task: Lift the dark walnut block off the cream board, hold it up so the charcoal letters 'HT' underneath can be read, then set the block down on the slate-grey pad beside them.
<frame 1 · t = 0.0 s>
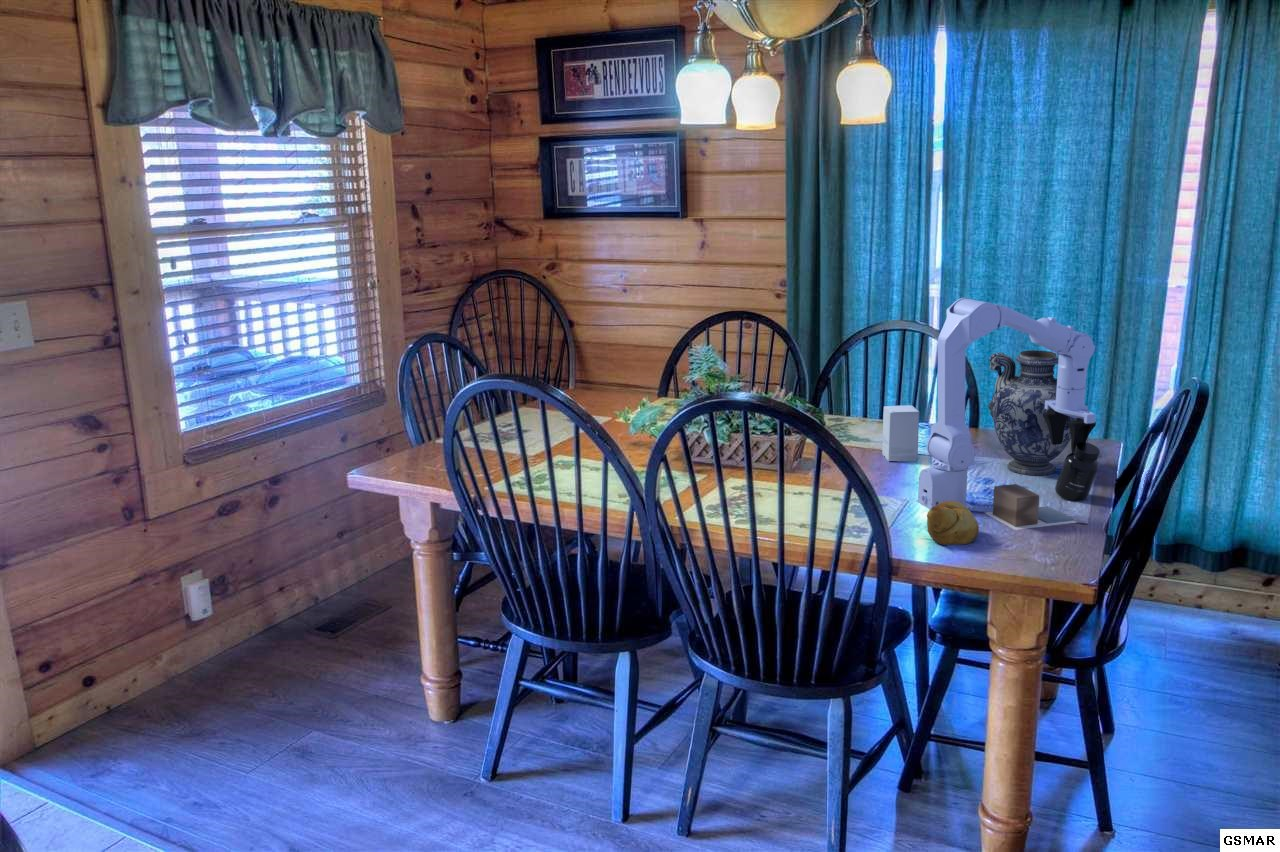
hand: (1066, 448, 223), 10 cm above the table, tool pointing down, fingers open, 6 cm apart
code board: (1029, 520, 210), on the table
bread roll: (951, 539, 202), on the table
walnut block: (1014, 519, 209), point 1 cm above the table, touching code board
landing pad: (1047, 515, 211), on the table
supplement box: (899, 458, 256), on the table
supplement bottle: (1070, 494, 222), point 1 cm above the table, touching gripper
decorative vase: (1030, 469, 244), on the table
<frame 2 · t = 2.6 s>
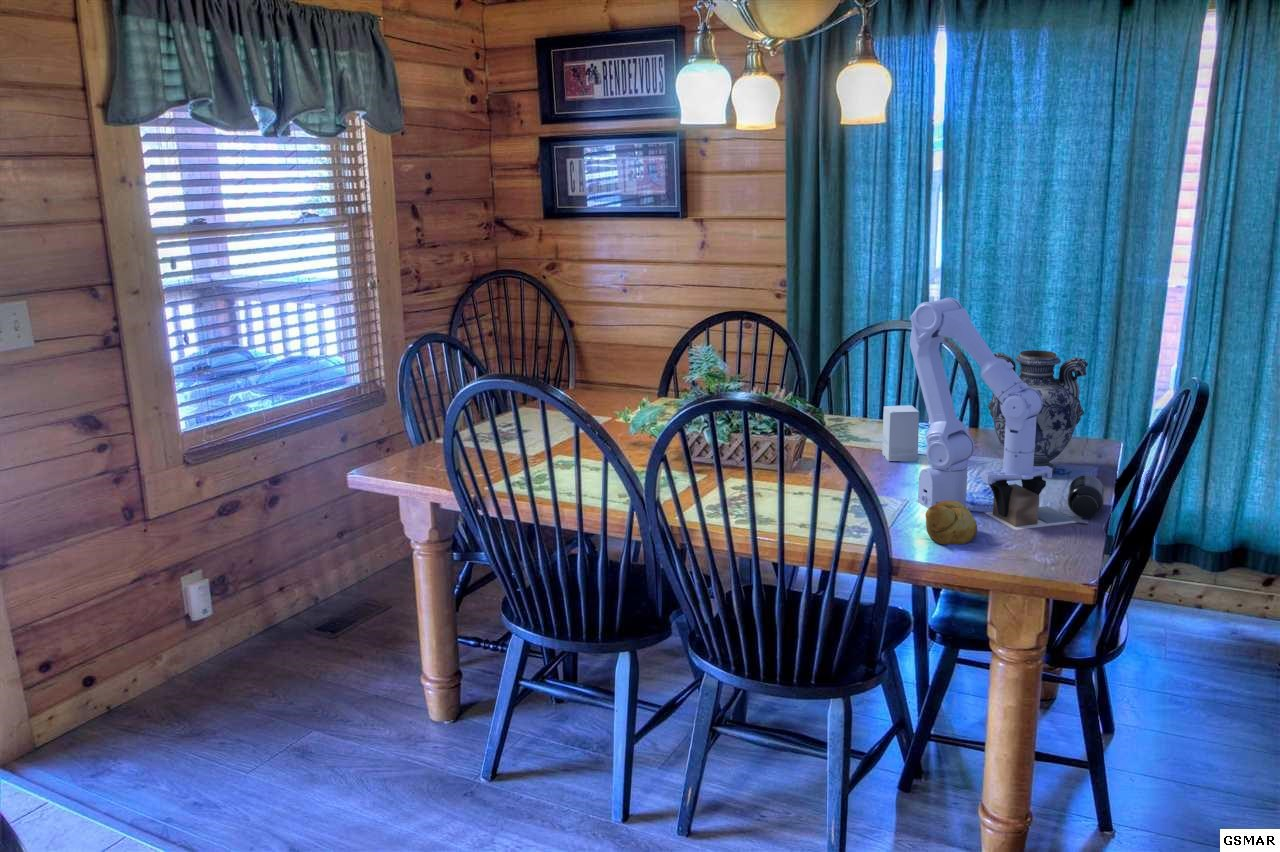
hand: (1015, 514, 209), 2 cm above the table, tool pointing down, fingers closed on walnut block, 5 cm apart
walnut block: (1014, 519, 209), point 1 cm above the table, touching code board, gripper
supplement bottle: (1086, 489, 217), point 3 cm above the table
everything else where it was.
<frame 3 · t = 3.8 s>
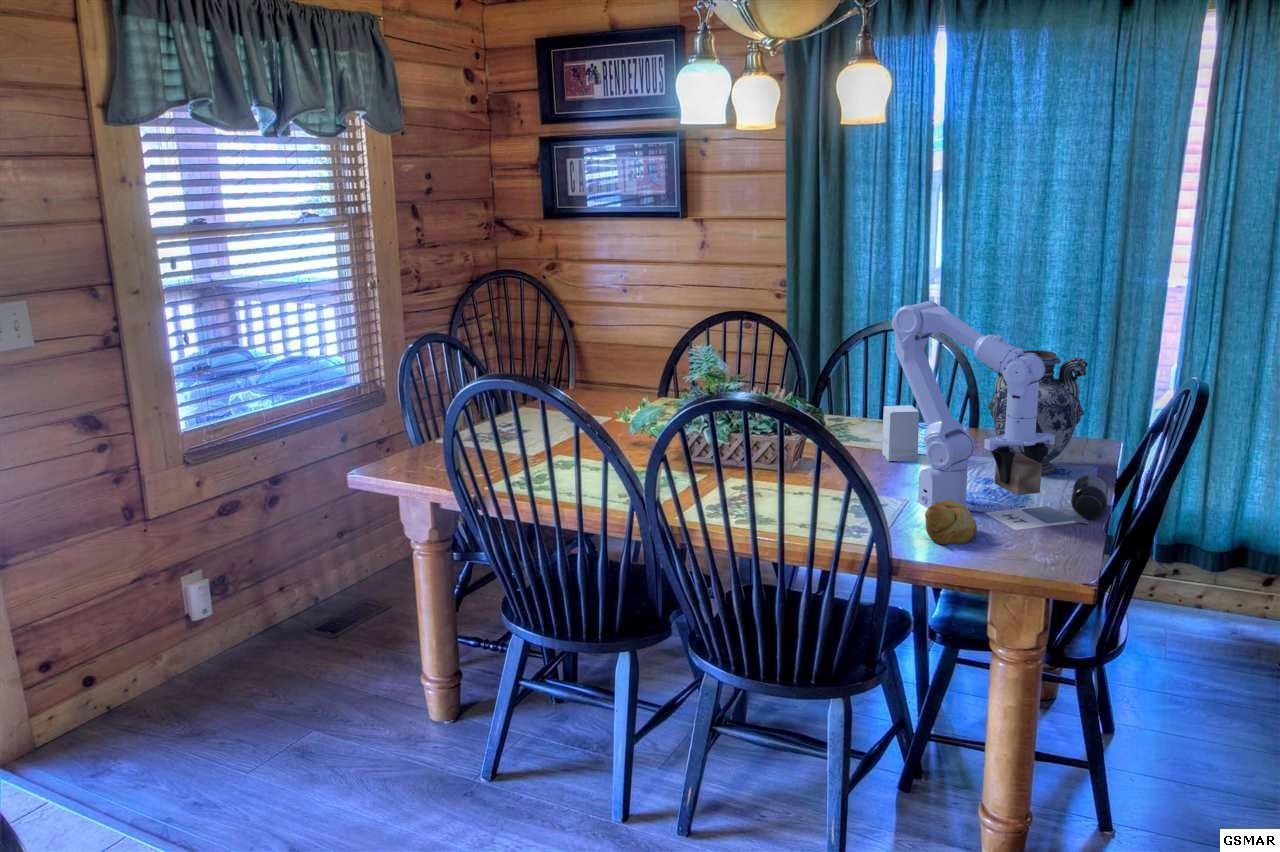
hand: (1016, 481, 207), 9 cm above the table, tool pointing down, fingers closed on walnut block, 5 cm apart
walnut block: (1016, 488, 207), point 7 cm above the table, touching gripper
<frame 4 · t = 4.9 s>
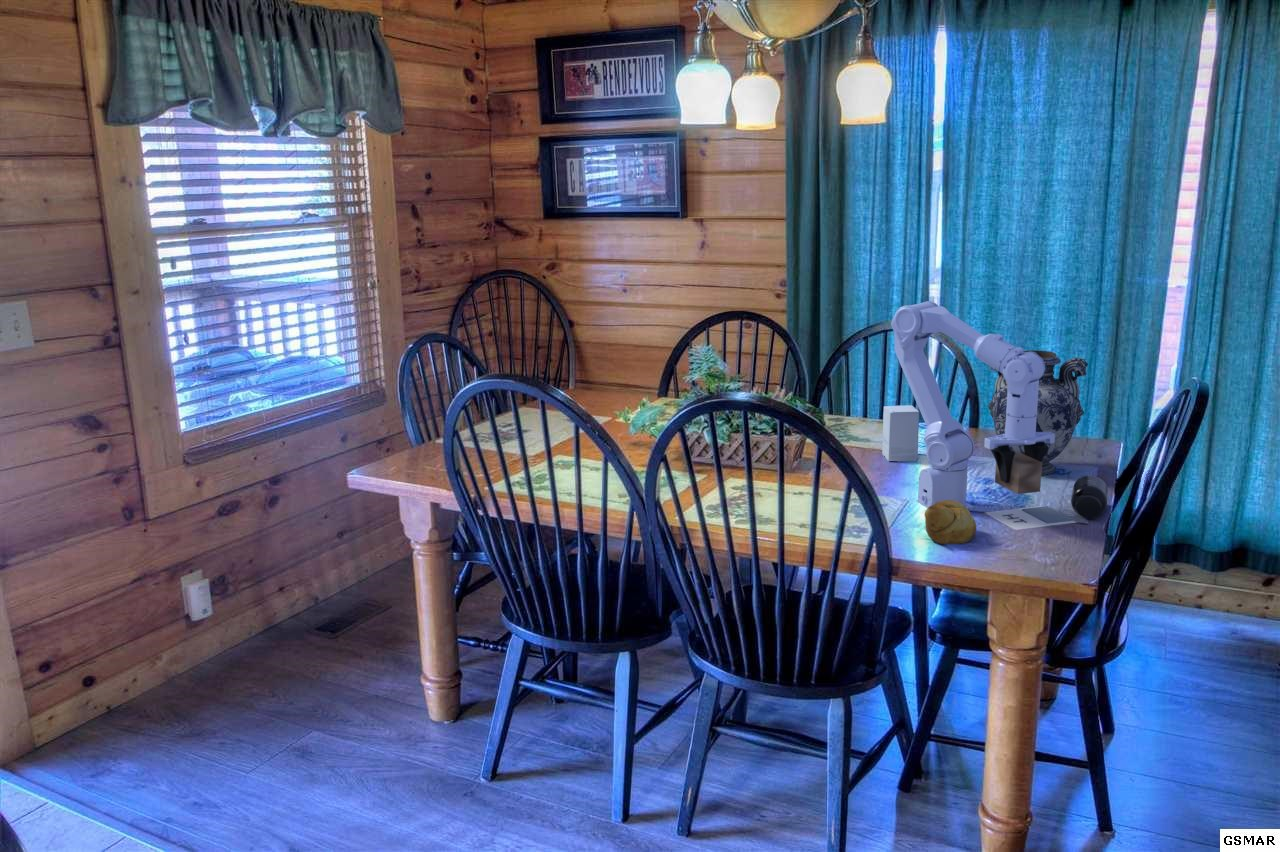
hand: (1017, 480, 207), 9 cm above the table, tool pointing down, fingers closed on walnut block, 5 cm apart
walnut block: (1017, 486, 207), point 8 cm above the table, touching gripper
everything else where it was.
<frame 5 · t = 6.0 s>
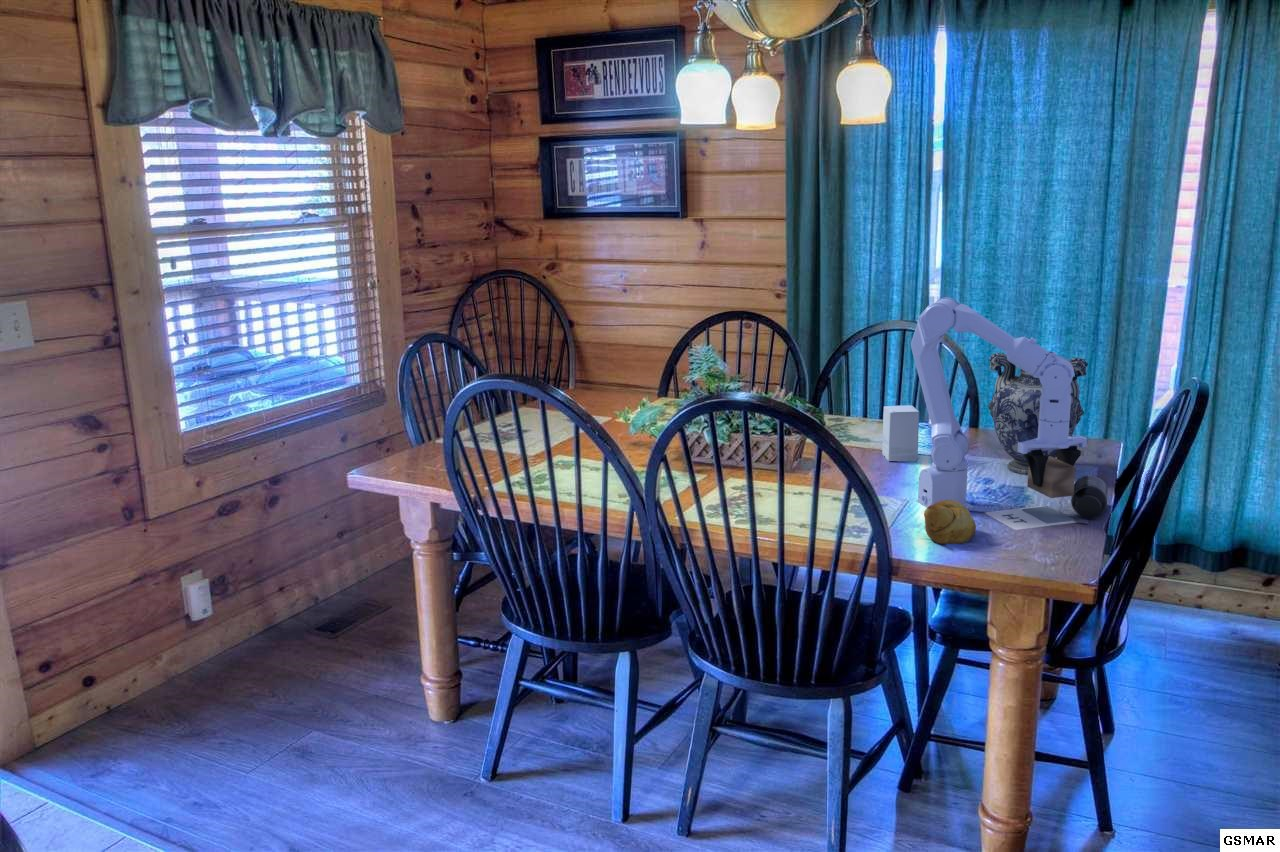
hand: (1049, 484, 209), 7 cm above the table, tool pointing down, fingers closed on walnut block, 5 cm apart
walnut block: (1049, 491, 209), point 6 cm above the table, touching gripper
everything else where it was.
when the fingers open (3 cm above the table, at t = 7.2 s): walnut block stays where it is, resting on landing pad.
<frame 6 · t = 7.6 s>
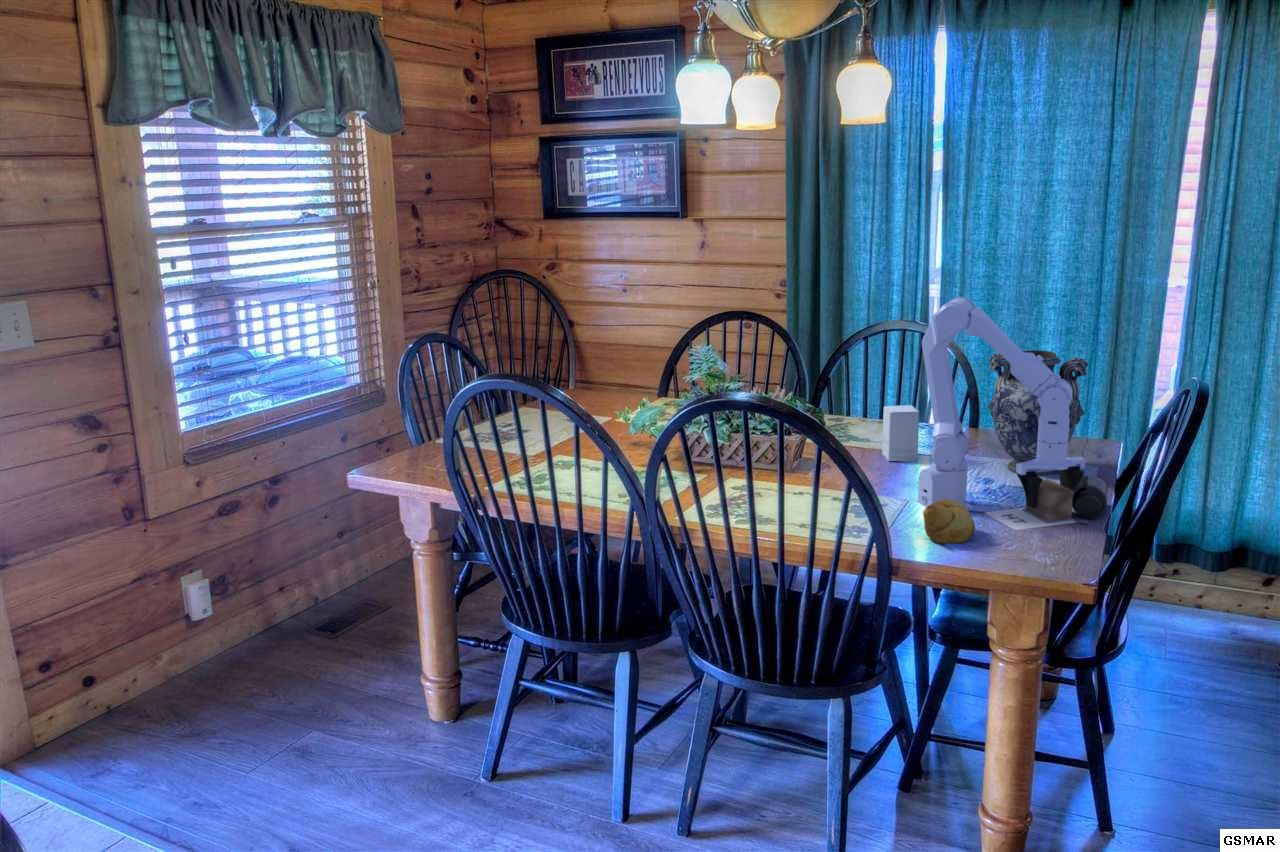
hand: (1048, 504, 210), 3 cm above the table, tool pointing down, fingers open, 7 cm apart
walnut block: (1047, 514, 210), point 1 cm above the table, touching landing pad
everything else where it was.
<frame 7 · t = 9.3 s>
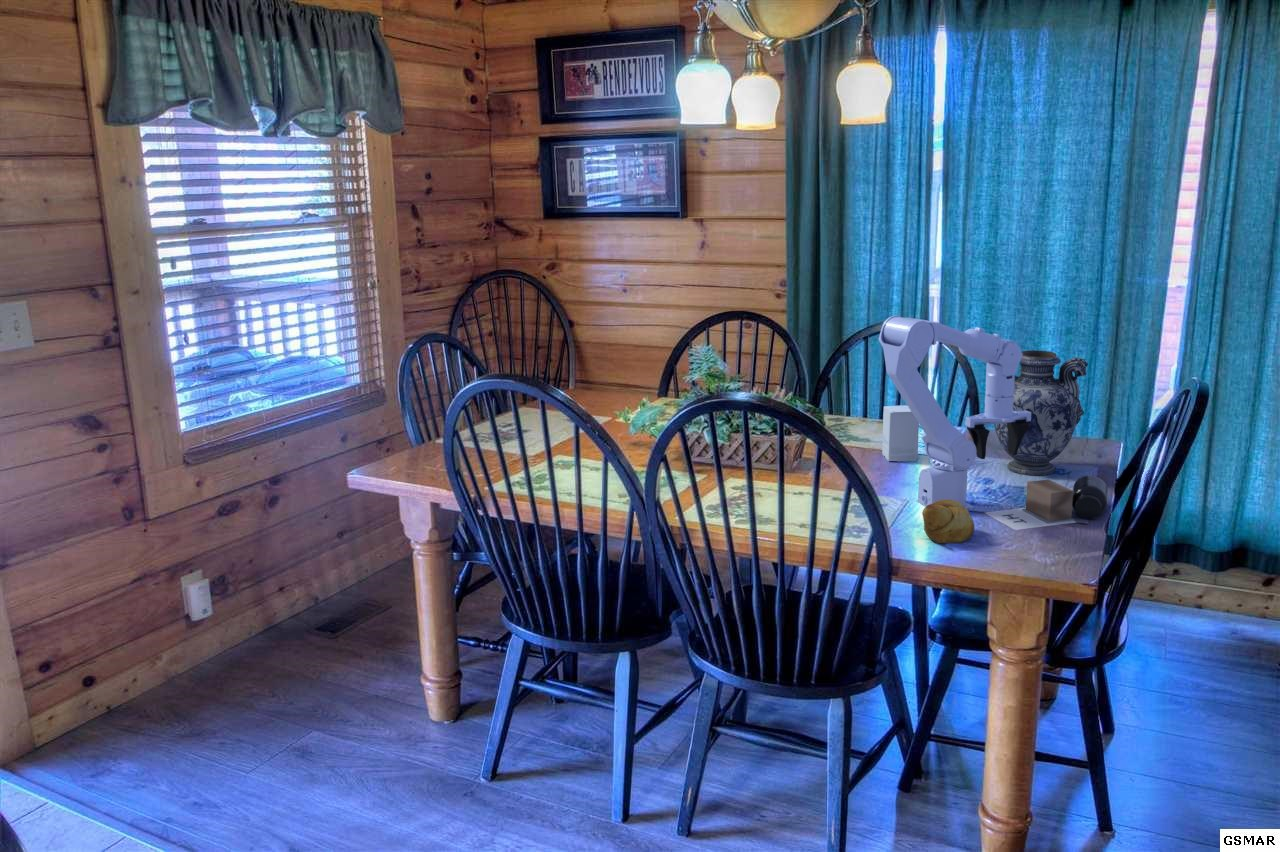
hand: (996, 456, 222), 9 cm above the table, tool pointing down, fingers open, 7 cm apart
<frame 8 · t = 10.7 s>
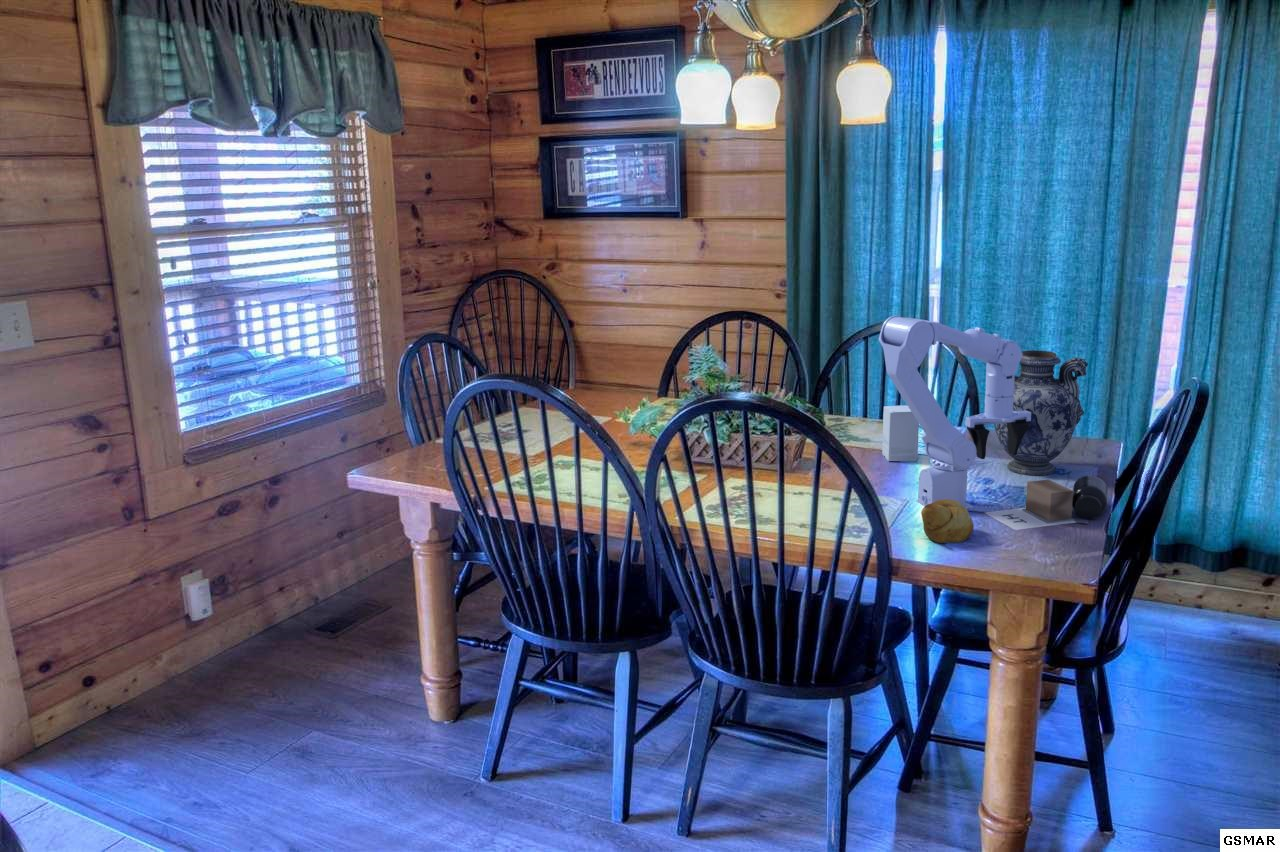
hand: (996, 456, 222), 9 cm above the table, tool pointing down, fingers open, 7 cm apart
at the end: walnut block 0.2 cm off-centre on the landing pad, point 0.3 cm above the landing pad's base; walnut block tilted 0°; the gripper is holding nothing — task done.
